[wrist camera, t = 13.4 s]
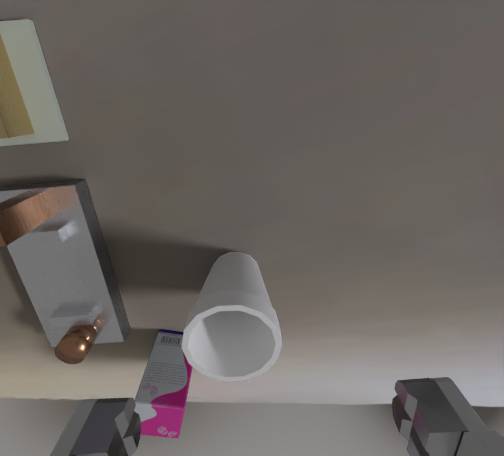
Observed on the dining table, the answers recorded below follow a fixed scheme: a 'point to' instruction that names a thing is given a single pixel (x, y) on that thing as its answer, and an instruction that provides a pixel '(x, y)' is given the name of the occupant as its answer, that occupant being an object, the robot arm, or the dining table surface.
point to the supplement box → (164, 387)
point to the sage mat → (32, 84)
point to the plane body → (63, 265)
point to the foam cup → (232, 322)
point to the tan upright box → (11, 101)
